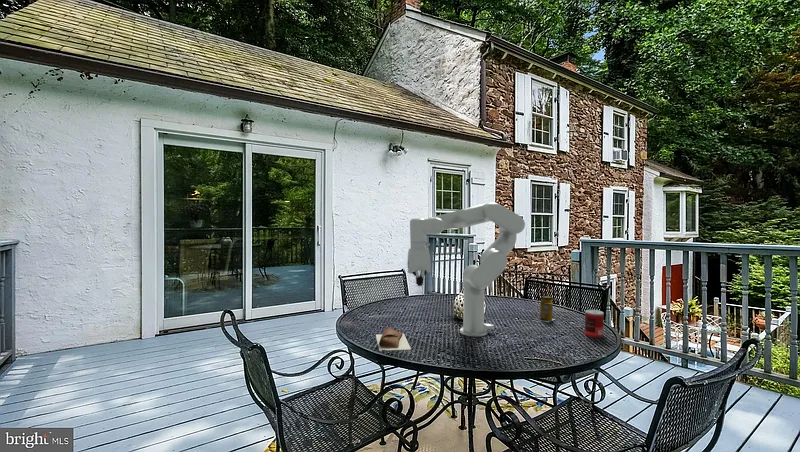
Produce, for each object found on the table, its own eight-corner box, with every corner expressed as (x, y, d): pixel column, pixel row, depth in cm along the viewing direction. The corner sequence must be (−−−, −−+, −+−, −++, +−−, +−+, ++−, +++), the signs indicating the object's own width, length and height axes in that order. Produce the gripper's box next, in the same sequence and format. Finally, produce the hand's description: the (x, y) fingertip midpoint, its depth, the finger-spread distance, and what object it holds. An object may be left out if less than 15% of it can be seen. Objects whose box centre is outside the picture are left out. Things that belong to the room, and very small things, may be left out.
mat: (403, 333, 182) (403, 333, 182) (411, 349, 162) (411, 349, 162) (375, 334, 181) (375, 334, 181) (379, 350, 160) (379, 350, 160)
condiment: (555, 319, 208) (555, 296, 208) (548, 322, 203) (548, 299, 202) (542, 316, 214) (542, 294, 213) (534, 319, 208) (535, 297, 207)
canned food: (602, 334, 184) (603, 310, 183) (603, 339, 176) (604, 314, 176) (584, 331, 187) (585, 308, 186) (584, 336, 180) (585, 312, 179)
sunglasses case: (399, 347, 162) (391, 332, 163) (384, 355, 163) (376, 341, 163) (403, 333, 180) (395, 321, 180) (390, 341, 181) (382, 328, 181)
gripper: (432, 244, 185) (433, 283, 186) (401, 245, 182) (402, 285, 183) (436, 245, 178) (437, 286, 178) (404, 247, 175) (405, 288, 176)
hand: (419, 285), depth 181 cm, fingers closed
